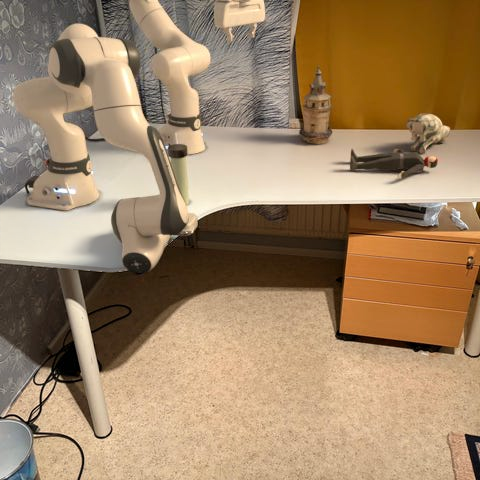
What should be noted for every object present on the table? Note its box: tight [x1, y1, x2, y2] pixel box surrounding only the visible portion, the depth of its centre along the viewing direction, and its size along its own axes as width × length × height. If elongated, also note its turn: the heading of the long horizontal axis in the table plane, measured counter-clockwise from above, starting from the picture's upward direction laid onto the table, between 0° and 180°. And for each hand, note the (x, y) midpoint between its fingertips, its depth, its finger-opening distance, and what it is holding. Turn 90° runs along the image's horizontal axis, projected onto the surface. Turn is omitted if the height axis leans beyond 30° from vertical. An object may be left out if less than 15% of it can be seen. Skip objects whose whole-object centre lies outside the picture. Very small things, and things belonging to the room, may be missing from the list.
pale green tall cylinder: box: [169, 156, 190, 206], centre depth 166 cm, size 5×5×18 cm
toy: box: [349, 148, 439, 180], centre depth 190 cm, size 26×6×30 cm
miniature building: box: [298, 65, 333, 145], centre depth 213 cm, size 13×14×30 cm
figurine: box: [406, 113, 451, 154], centre depth 207 cm, size 10×19×20 cm
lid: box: [168, 144, 189, 158], centre depth 162 cm, size 6×6×2 cm
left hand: (167, 209), depth 154 cm, fingers open, 8 cm apart
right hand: (241, 39), depth 172 cm, fingers open, 8 cm apart
